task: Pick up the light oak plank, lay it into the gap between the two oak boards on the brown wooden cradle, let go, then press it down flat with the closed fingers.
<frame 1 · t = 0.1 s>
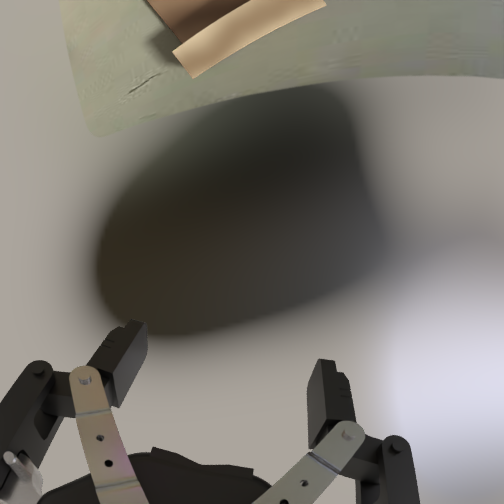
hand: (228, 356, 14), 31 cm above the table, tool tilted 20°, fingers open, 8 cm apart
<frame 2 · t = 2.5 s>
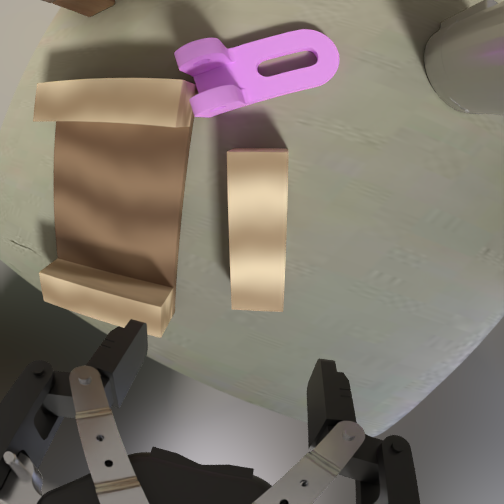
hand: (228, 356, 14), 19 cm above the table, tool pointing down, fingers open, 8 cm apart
oak plank: (260, 224, 32), on the table
bracket: (267, 70, 26), on the table, touching brown wooden cradle
brown wooden cradle: (113, 198, 32), on the table
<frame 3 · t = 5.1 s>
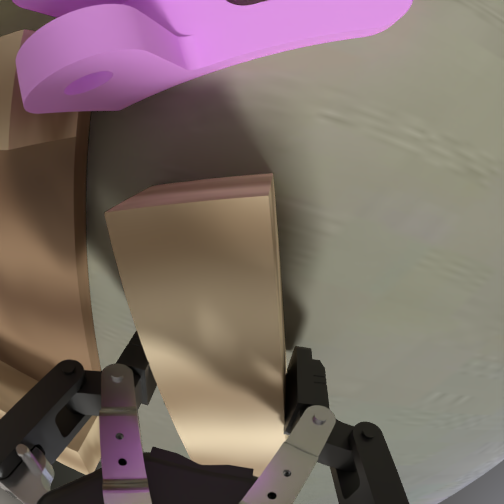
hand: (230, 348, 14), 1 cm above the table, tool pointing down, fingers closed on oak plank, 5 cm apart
oak plank: (232, 335, 15), on the table, touching gripper
bracket: (249, 0, 10), on the table
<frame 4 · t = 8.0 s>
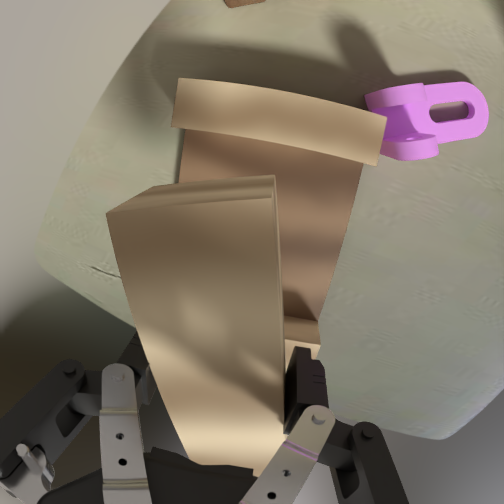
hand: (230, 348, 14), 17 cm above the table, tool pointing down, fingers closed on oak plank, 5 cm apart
oak plank: (233, 336, 15), point 17 cm above the table, touching gripper
bracket: (430, 113, 25), on the table
brown wooden cradle: (258, 227, 30), on the table
when the fingers open (3 cm above the table, at t = 10.9 s): oak plank drops 1 cm, resting on brown wooden cradle.
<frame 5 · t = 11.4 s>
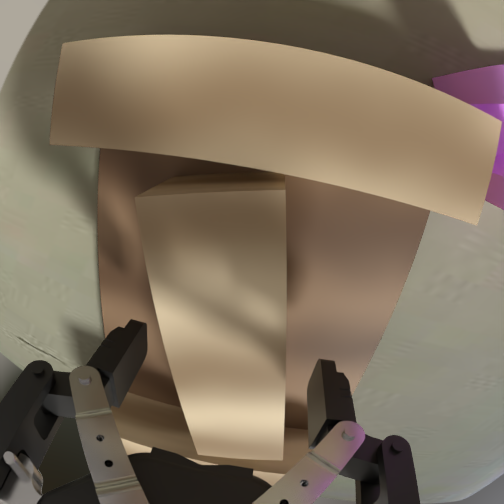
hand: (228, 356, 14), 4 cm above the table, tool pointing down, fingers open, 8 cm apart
oak plank: (238, 319, 16), point 1 cm above the table, touching brown wooden cradle
brown wooden cradle: (239, 311, 17), on the table
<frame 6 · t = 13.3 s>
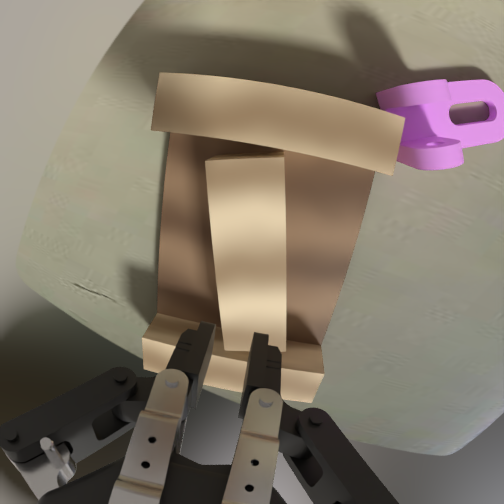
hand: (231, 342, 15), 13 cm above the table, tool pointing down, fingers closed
oak plank: (255, 246, 26), point 1 cm above the table, touching brown wooden cradle
bracket: (448, 114, 21), on the table
brown wooden cradle: (255, 243, 27), on the table
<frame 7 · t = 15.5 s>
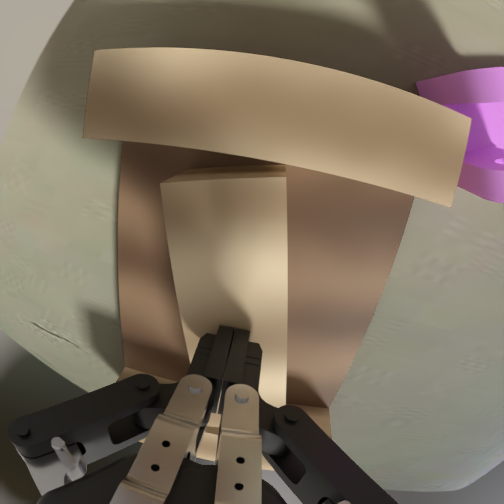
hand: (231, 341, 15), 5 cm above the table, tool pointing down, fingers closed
oak plank: (244, 296, 19), point 1 cm above the table, touching brown wooden cradle, gripper
bracket: (503, 117, 14), on the table
brown wooden cradle: (244, 290, 19), on the table
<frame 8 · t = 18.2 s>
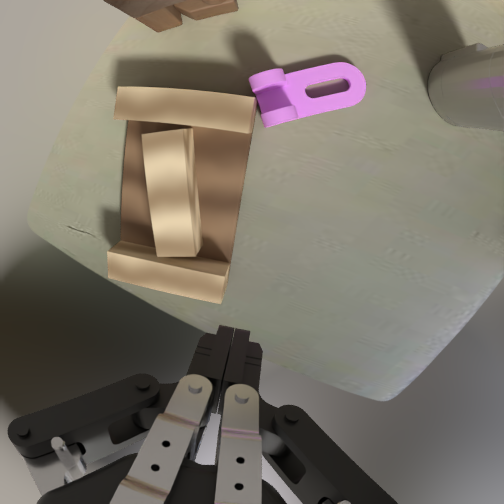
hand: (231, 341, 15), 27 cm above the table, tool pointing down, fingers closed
oak plank: (178, 189, 39), point 1 cm above the table, touching brown wooden cradle
wooden block: (195, 10, 31), on the table
bracket: (311, 92, 34), on the table
brown wooden cradle: (180, 188, 40), on the table
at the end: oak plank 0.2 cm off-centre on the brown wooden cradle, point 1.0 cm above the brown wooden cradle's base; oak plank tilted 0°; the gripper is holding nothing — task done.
